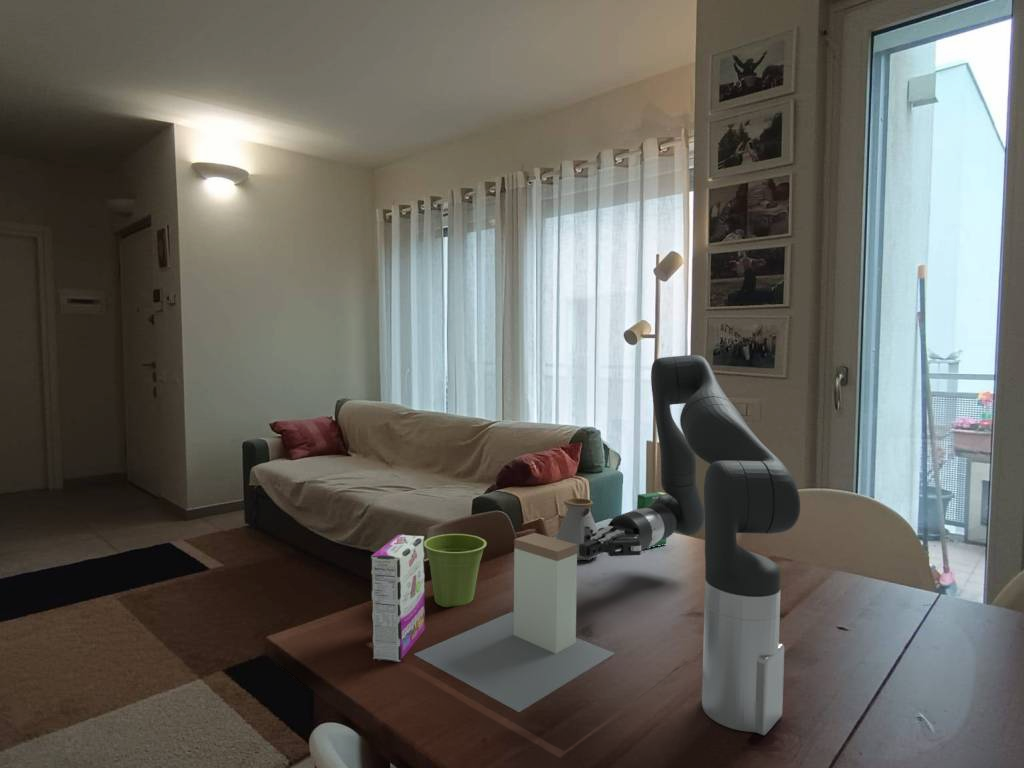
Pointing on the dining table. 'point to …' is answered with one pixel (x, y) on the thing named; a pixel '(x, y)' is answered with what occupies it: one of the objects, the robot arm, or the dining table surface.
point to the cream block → (545, 591)
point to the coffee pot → (576, 523)
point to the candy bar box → (397, 597)
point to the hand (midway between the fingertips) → (582, 551)
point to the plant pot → (454, 567)
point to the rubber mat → (511, 662)
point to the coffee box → (647, 501)
